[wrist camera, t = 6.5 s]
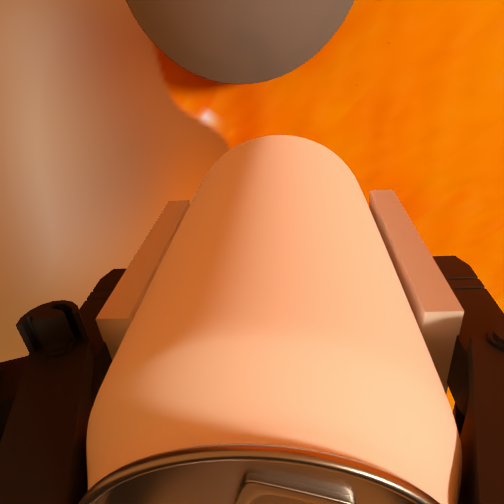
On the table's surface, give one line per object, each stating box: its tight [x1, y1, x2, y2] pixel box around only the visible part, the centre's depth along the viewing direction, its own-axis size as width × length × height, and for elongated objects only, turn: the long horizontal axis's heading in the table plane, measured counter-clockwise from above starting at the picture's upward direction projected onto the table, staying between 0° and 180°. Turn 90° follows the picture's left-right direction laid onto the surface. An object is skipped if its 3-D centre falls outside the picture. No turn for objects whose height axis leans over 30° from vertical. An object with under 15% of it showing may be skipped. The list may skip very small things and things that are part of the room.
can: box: [78, 135, 462, 504], centre depth 11 cm, size 6×6×12 cm
